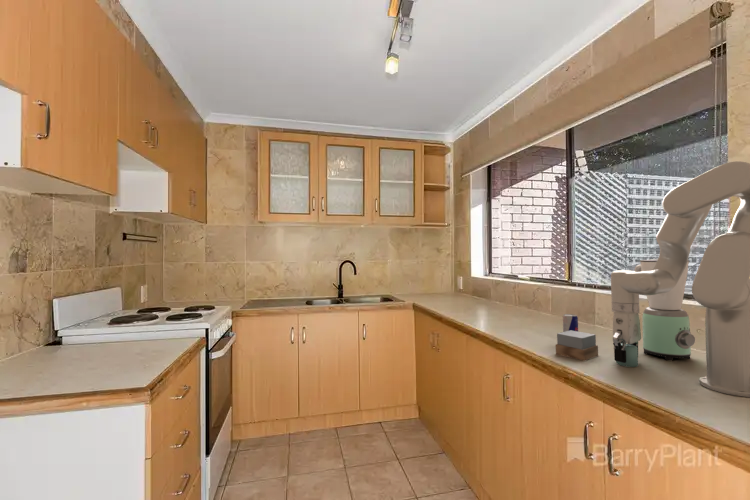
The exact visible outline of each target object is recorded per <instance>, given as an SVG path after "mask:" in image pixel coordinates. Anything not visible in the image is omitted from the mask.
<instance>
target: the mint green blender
mask: <svg viewBox="0 0 750 500" xmlns="http://www.w3.org/2000/svg"><path fill="white" fill-rule="evenodd" d="M657 260H658V258H651V259H641V260H639V262H640V264H637V265H636V266H635V267H634V270H633V271H635V272H644V271H652V270H653V268H654V267H655V265H656V263H657ZM689 264H690V260H689V259H688V261H687V265H686V267H685V269H684V271H683V273H682V275H681V277H680V279H679V281H678V282H677V284H676V285H675V287H674V288H673V289H672V290H670V291H669V292H666V293H661V294H656V295H646V298H647V303H648V307H645V308H644V310H643V312H642V318H641V319H642V322H641V323H642V349H643V354H644V355H653V356H657V357H662V358H664V360H666V361H670V362H671V361H673V359H687V360H689V359H691V355H692V351H691V350H692V349H691V348H692V347H693V345H694V344H695V343H696V337H695V336H694V335H693V334H692V333H691V325H690V324H691V323H690V316H689V314H688V312H687V311H686V310H685V309H682V307H683V300H684V295H685V289H686V283H687V278H688V270H689Z"/></svg>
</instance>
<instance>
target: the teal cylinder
mask: <svg viewBox="0 0 750 500" xmlns="http://www.w3.org/2000/svg"><path fill="white" fill-rule="evenodd" d="M621 345H622V344H621ZM625 350H626V363H623V362H618V361H615V364H617V365H618V366H622V367H629V368H637V367H638V366H639V346H638V347H637V346H634V345H630V344H628V343H626V347H625Z"/></svg>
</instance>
